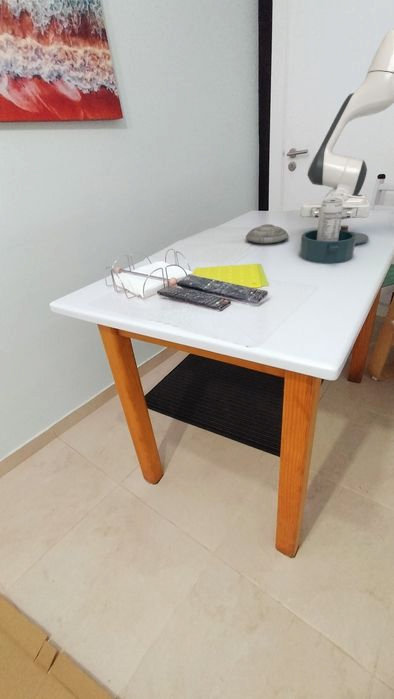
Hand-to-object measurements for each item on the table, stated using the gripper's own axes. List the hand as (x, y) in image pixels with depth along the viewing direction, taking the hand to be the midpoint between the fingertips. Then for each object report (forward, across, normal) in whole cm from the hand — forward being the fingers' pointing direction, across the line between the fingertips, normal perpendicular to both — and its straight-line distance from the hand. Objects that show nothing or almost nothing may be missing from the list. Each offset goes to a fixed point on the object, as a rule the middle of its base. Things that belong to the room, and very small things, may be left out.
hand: (332, 214), depth 101 cm
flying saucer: (-8, -21, +11) cm, 25 cm away
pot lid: (-12, +4, +10) cm, 16 cm away
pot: (+6, 0, +10) cm, 12 cm away
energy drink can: (+6, 0, +10) cm, 12 cm away
